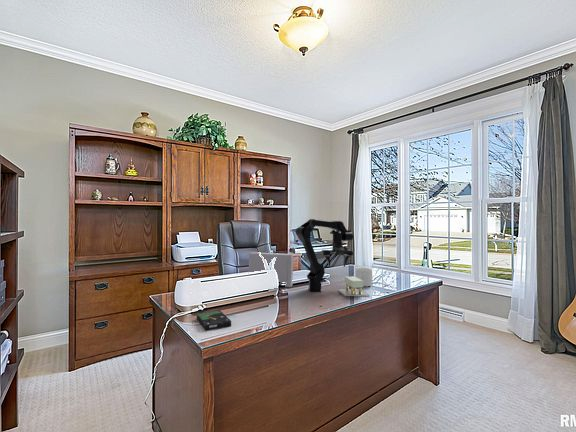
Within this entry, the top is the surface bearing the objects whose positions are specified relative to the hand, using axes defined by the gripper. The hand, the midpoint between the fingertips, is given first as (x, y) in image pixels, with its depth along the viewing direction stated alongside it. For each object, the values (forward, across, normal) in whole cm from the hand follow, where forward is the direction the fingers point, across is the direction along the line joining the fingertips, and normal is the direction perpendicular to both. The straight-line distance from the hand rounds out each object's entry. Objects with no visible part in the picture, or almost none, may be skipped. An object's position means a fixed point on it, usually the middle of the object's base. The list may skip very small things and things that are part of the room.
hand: (336, 266), depth 182 cm
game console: (+13, -40, +9) cm, 43 cm away
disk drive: (+14, -67, -55) cm, 88 cm away
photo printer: (+13, +19, +4) cm, 23 cm away
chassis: (+13, +6, -14) cm, 20 cm away
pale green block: (+8, +6, -14) cm, 17 cm away
